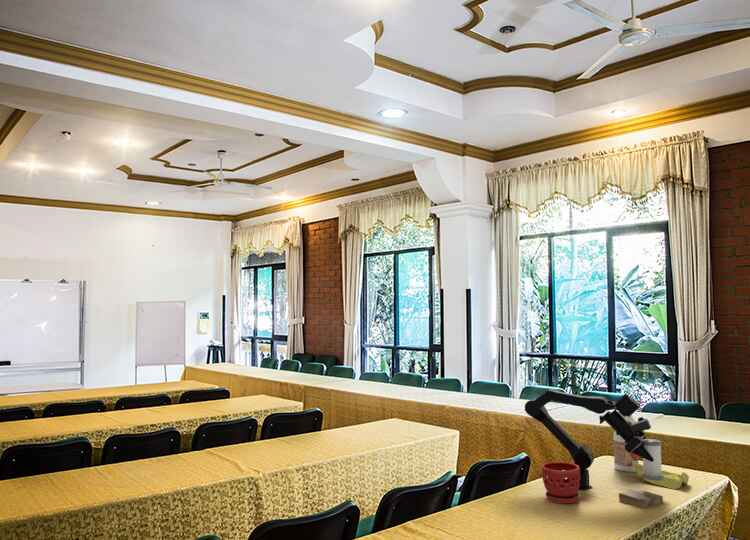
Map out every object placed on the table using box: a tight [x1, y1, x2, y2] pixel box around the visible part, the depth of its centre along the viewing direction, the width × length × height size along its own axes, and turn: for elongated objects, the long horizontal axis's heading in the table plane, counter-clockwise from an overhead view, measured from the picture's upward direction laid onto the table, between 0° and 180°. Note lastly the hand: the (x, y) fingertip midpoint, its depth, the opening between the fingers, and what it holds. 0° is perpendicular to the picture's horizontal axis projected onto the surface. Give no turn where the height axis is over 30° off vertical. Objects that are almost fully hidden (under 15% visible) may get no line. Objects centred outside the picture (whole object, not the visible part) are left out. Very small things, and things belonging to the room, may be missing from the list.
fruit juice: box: [613, 411, 639, 473], centre depth 249 cm, size 9×9×28 cm
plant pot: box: [541, 461, 581, 505], centre depth 209 cm, size 13×13×12 cm
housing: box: [641, 438, 664, 481], centre depth 212 cm, size 8×8×13 cm
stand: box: [618, 488, 664, 509], centre depth 206 cm, size 10×10×2 cm
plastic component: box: [631, 460, 690, 490], centre depth 230 cm, size 20×7×10 cm
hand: (653, 459), depth 212 cm, fingers closed on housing, 6 cm apart
